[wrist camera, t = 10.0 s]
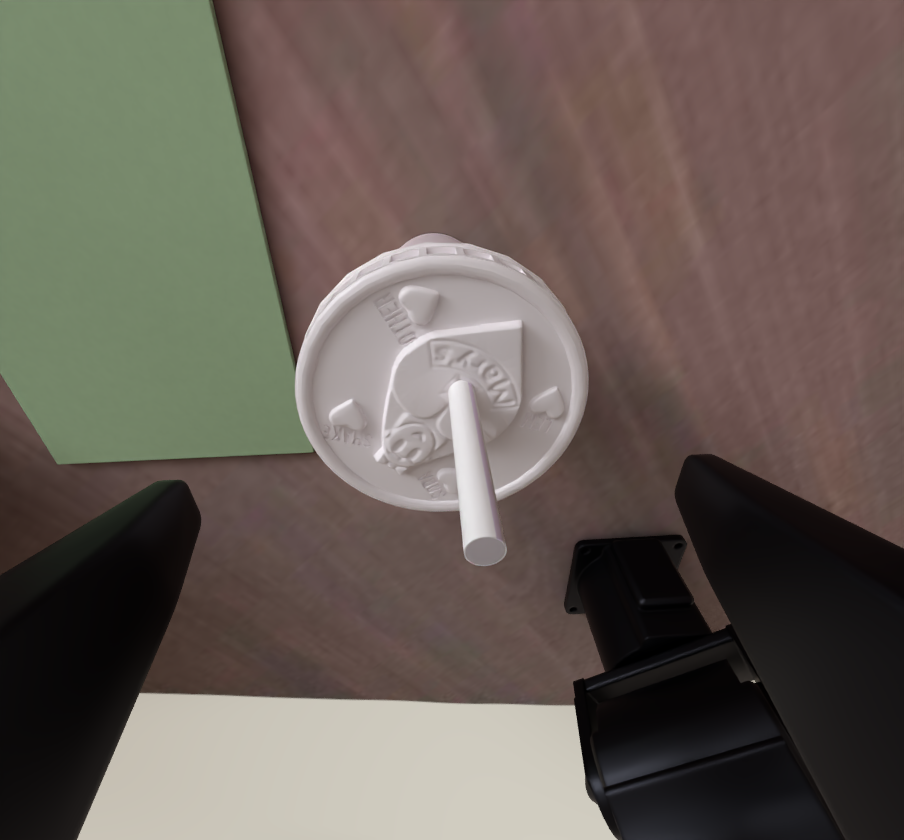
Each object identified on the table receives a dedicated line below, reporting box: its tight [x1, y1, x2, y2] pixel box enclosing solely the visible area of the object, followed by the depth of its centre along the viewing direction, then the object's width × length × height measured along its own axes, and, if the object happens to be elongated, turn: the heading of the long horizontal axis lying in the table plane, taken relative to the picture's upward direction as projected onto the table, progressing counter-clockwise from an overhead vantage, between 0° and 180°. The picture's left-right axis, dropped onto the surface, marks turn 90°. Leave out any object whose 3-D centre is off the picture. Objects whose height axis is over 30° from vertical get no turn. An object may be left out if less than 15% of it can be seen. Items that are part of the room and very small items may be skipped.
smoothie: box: [295, 233, 589, 566], centre depth 12 cm, size 6×6×14 cm
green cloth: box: [0, 0, 315, 464], centre depth 16 cm, size 21×12×1 cm, turn 1°
